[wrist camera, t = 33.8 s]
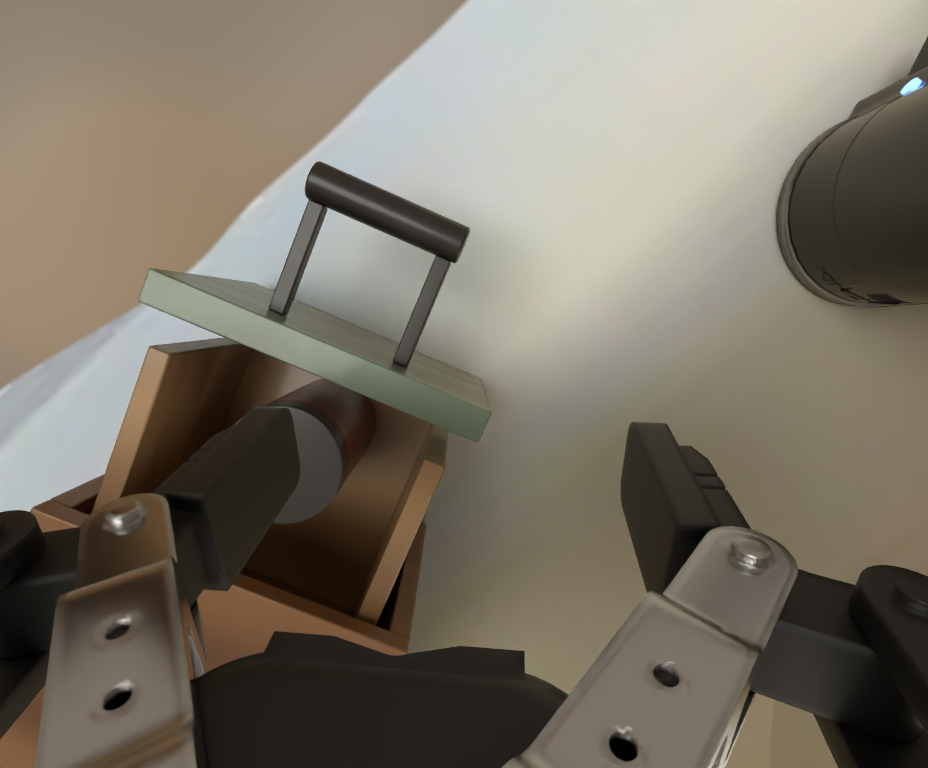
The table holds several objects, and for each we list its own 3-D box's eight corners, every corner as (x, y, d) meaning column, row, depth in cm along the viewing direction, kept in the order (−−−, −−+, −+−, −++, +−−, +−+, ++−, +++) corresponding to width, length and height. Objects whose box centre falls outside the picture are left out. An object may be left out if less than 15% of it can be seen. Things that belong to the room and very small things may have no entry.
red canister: (338, 360, 25) (289, 380, 18) (393, 430, 26) (367, 477, 18) (269, 413, 26) (192, 454, 18) (325, 481, 26) (273, 548, 19)
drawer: (294, 172, 25) (205, 98, 16) (526, 275, 26) (561, 257, 17) (160, 535, 27) (22, 639, 19) (376, 619, 28) (339, 756, 20)
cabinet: (193, 432, 28) (30, 507, 17) (426, 526, 29) (408, 652, 18) (103, 676, 30) (-92, 877, 19) (325, 757, 30) (254, 991, 20)
